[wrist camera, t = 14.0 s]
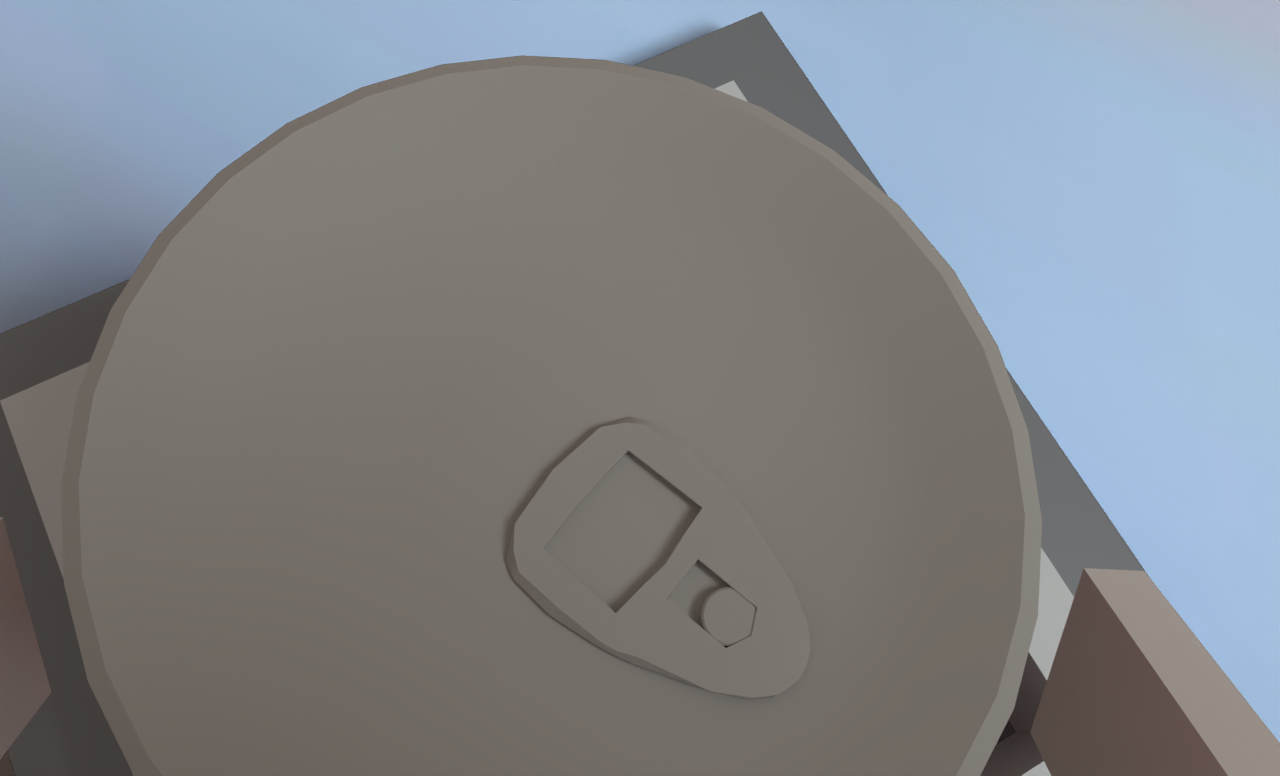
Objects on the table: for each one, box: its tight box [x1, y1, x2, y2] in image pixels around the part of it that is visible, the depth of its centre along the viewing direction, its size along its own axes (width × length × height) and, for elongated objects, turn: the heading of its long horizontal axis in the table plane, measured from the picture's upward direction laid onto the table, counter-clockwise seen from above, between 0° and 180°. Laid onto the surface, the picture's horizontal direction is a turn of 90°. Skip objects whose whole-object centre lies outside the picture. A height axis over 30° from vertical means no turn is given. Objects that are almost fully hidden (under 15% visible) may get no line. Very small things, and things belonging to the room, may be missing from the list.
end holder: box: [0, 11, 1148, 776], centre depth 17 cm, size 20×20×4 cm
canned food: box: [61, 56, 1042, 776], centre depth 13 cm, size 8×8×11 cm
